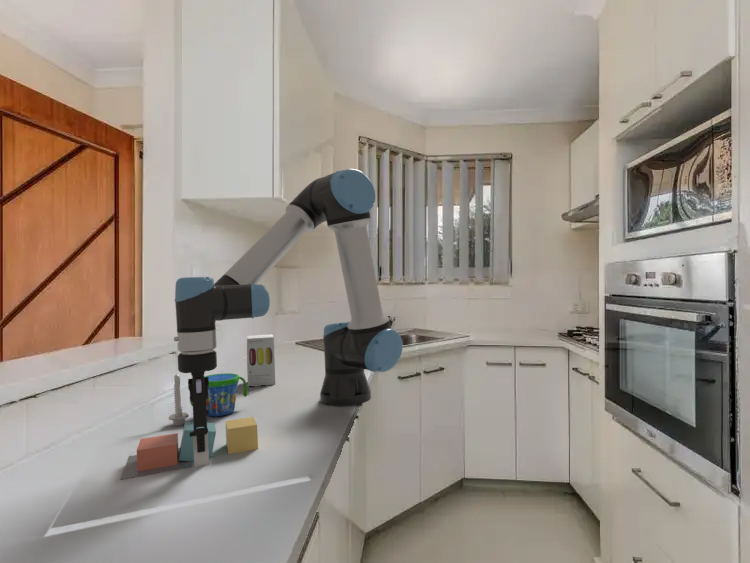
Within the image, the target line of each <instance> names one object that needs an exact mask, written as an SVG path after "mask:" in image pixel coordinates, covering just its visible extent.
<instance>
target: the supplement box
mask: <svg viewBox="0 0 750 563" xmlns="http://www.w3.org/2000/svg"><path fill="white" fill-rule="evenodd" d="M275 362H276V360H275V337H274V335H273V334H271V333H270V334H256V335H255V334H254V335H253V334H252V335H247V336H246V367H247V368H246V371H247V374H246V376H247V387H248V388H250V387H249V386H255V387H262V386H261V385H266V386H275V385H276V365H275V364H276V363H275Z"/></svg>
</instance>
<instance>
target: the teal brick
mask: <svg viewBox="0 0 750 563" xmlns="http://www.w3.org/2000/svg"><path fill="white" fill-rule="evenodd" d="M198 428H204V427H198ZM198 428H196V429H198ZM207 428H208V449H209V459H211V458H212V456H213V450H214V446H215V445H214V444H215V439H216V433H217V430H216V429H217V428H216V424H215V422H214V423H213V422H207ZM193 431H194V427H193V421H185V424H183V431H182V434H181V435H182V436H181V439H180V440H181V442H180V446H179V448H180V452H179V461H191V462H194V447H193V436H192V437H190V432H193Z"/></svg>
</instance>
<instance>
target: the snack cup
mask: <svg viewBox="0 0 750 563" xmlns="http://www.w3.org/2000/svg"><path fill="white" fill-rule="evenodd" d="M204 377H208V379H209V388H208V400H207V401H206V410H209V415H207V417H208V416H209V417H213V416H214V417H218V416H219V417H223V415H224V416H226V415H230V414H231V413H232V414H233V412H234V411H235V408H236V400H237V389H238V384H239V381H240V380H241V381H242V383H243V389H242V395H243V397H247V396H248V393H249V389H248V388H249V387H248V382H247V381H246V379H245V378H244V377H242V376H240V375H239V374H236V373H229V372H228V373H225V372H224V373H215V374H209V375H204ZM189 404H190V405H191V407H192V408H193V403H191V402H190V401H189Z"/></svg>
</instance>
